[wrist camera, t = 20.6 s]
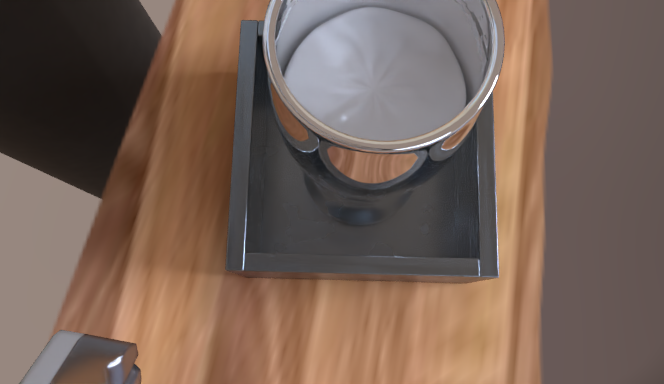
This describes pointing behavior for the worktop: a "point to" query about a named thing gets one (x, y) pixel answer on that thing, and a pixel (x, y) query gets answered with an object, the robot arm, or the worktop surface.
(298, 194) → the dark gray square tray
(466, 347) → the worktop surface
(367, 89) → the metal tumbler
